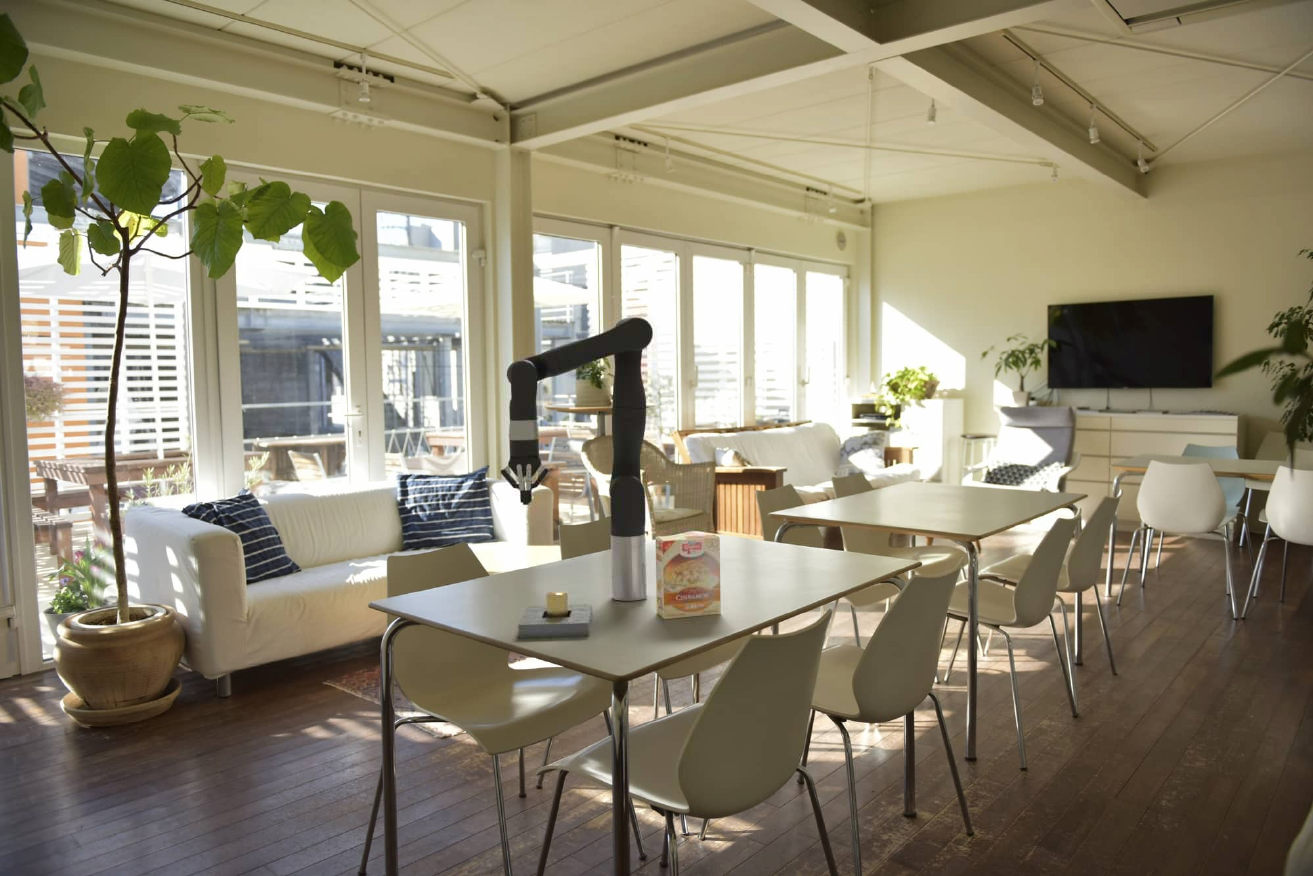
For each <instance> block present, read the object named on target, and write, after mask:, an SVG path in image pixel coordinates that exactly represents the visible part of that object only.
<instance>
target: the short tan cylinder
mask: <svg viewBox="0 0 1313 876" xmlns="http://www.w3.org/2000/svg"><path fill="white" fill-rule="evenodd" d="M545 600H546V606H547V618H563V617H568V605H569V604H568V592H566V591H561V590H560V591H557V590H555V591H549V592H547V593H546V599H545Z"/></svg>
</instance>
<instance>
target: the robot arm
mask: <svg viewBox="0 0 1313 876" xmlns="http://www.w3.org/2000/svg"><path fill="white" fill-rule="evenodd" d="M653 330H654V329H653V326H652V325H651V323H650V322H649V321H648V320H647V319H645V318H643V317H640V316H629V317H625V318H622V319H620V320H619V321H618V322H617V323H616V324H615V326H614V327H613V328H610V329H609V330H606V331H604V332H602V333H598V334H596V335H593V336H589V337H586V338H582V339H579V340H575V341H571V342H568V343H564V344H562V345H560V346H556V347H553V348H551V349H548V350H546V351H543V352H541V353H540V354H536V355H532V356H528V357H525V358H523V359H519V360H516V361H514V362H512V363H511V364H510V365H509V366H508V367H507V371H506V378H507V381H508V382H509V384H510V395H511V398H510V400H509V406H508V408H509V409H508V410H509V412H508V413H509V425H508V439H509V443H508V444H509V459H508V463H507V465H506V466H505V467H504V468H503V469H501V470H500V474H501V475H502V477H503V478H504V479H505V480H506V481H507V483H509V485H510V486H511V487H512V488H513V489H516V490H519V497H520V503H522V505H523V506H529V505H530V504H531V503H532V500H533V492H532V491H533V489H536V488H538V487H539V485H540V484H541V483H542V482H543V480H544V479H545V477H546V476H547V475H548V474H549V472H550V468H549V467H546V466H545V465H543V463H542V460H541V458H540V440H539V439H540V438H539V433H540V432H539V425H538V408H537V407H538V405H537V394H538V382H540V381H542V380H545V379H549V378H552V377H557V376H560V375H563V374H565V373H569V372H571V371H573V370H576V369H579V368H581V367H584V366H586V365H589V364H592V363H594V362H596V361H599V360H602V359H605V358H607V357H610V356H614V358H613V359H614V374H613V375H614V377H613V388H612V402H611V404H612V405H611V407H612V408H611V437H612V439H611V440H612V449H613V451H612V453H613V459H612V470H611V475H610V476H611V477H610V483H609V488H608V491H609V492H608V494H609V497H610V501H609V502H610V548H611V549H610V552H611V553H610V555H611V561H610V562H611V593H612V594H611V595H612V599H613V600H615V601H616V600H617V601H622V602H630V601H631V602H632V601H640V600H641V601H642V600H647V597H648V595H647V564H646V563H647V561H646V559H647V558H646V492H645V490H646V489H645V487H644V485H643V483H642V477H641V452H642V447H643V444H644V443H643V442H644V439H645V431H646V424H647V396H646V390H645V387H644V381H643V376H642V356H643V350H644V349H645V348H647V347H648V346H649V345H650V343H651V342H652V339H653V337H654V335H653V334H654V331H653ZM538 470H539V476H538V477H537V479H536V480H535V482H533V476H534V475H535V474H537V472H538ZM512 472H513V474H514V475H515V476H516V477H517V480H515V478H514V477H513V476H512V475H511V473H512ZM517 481H518V482H517Z"/></svg>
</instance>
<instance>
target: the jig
mask: <svg viewBox="0 0 1313 876" xmlns="http://www.w3.org/2000/svg"><path fill="white" fill-rule="evenodd" d="M593 616H594V614H593V604H592V603H591V604H590V603H589V604H588V603H587V604H568V617H563V618H547V605H528V606H527V608H526V609H525V611H524V613H523V615H522V616H521V619H520V621H519V623H518V627H517V628H518V638H519V637H523V638H526V639H527V638H529V639H531V638H562V637H565V638H567V637H589V636H590V631H591V627H592V621H593ZM523 638H522V639H523Z"/></svg>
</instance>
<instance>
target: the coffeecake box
mask: <svg viewBox="0 0 1313 876" xmlns="http://www.w3.org/2000/svg"><path fill="white" fill-rule="evenodd" d="M720 539H721V538H720V536H718V535H717V534H714V533H712V532H708V533H706V532H705V533H694V534H693V533H692V534H691V533H690V534H680V535H679V534H678V535H676V534H675V535H663V536H662V535H661V536H655V579H656V583H655V586H656V589H655V590H656V613H657V614H658V615H659V616H660V617H661V618H662V619H663V620H670V619H672V620H674V619H679V618H681V619H682V618H689V617H690V618H691V617H692V618H693V617H703V616H712V615H721V613H722V611H721V609H722V608H721V606H722V605H721V602H722V601H721V548H720V547H721V546H720V545H721V544H720V543H721V542H720Z"/></svg>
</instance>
